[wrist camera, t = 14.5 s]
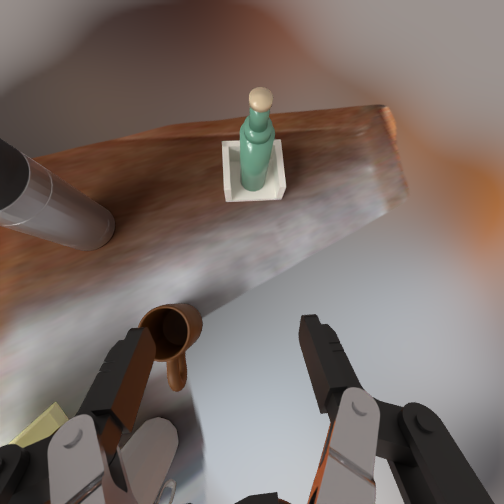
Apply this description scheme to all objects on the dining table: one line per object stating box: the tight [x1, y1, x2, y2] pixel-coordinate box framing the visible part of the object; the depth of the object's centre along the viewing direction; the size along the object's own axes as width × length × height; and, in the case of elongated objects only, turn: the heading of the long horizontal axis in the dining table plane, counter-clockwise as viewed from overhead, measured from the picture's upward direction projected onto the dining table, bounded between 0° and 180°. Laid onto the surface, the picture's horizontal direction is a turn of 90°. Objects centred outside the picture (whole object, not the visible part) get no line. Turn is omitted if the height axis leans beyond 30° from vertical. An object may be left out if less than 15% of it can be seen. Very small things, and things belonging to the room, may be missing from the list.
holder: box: [222, 139, 286, 202], centre depth 43 cm, size 10×11×5 cm
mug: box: [138, 303, 203, 392], centre depth 33 cm, size 12×8×9 cm, turn 15°
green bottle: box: [240, 87, 275, 192], centre depth 35 cm, size 5×5×19 cm
